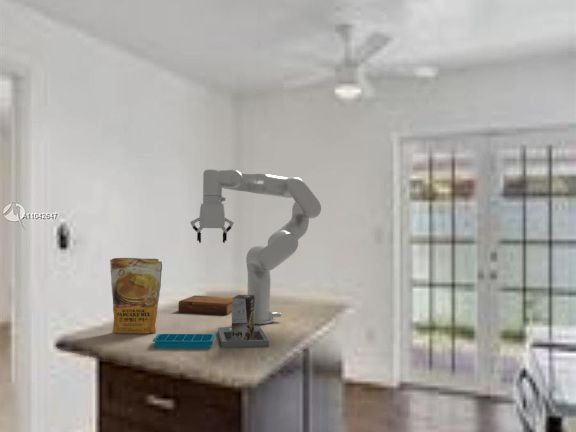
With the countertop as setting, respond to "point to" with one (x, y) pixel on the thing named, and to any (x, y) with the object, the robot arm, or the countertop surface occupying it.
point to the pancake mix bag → (135, 294)
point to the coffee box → (243, 317)
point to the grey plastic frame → (227, 332)
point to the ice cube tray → (184, 341)
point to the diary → (206, 305)
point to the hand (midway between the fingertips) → (211, 242)
